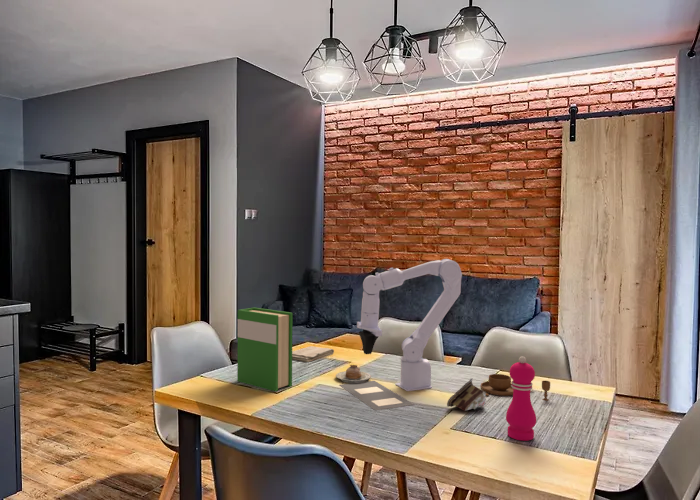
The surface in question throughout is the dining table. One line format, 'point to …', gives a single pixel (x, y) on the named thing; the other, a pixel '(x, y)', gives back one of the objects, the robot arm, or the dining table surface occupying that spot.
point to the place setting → (506, 386)
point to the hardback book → (265, 348)
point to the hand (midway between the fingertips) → (367, 353)
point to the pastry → (353, 375)
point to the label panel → (376, 395)
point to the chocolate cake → (468, 397)
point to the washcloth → (311, 353)
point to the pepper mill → (521, 402)
